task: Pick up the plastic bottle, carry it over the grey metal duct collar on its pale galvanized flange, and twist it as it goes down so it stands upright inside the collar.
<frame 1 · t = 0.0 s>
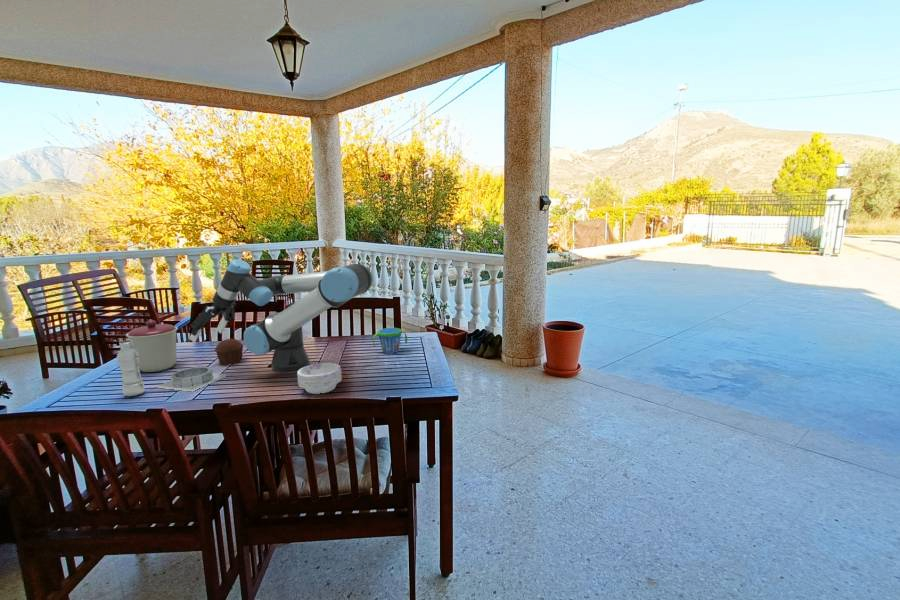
hand: (206, 335, 180), 15 cm above the table, tool tilted 35°, fingers open, 13 cm apart
canister: (158, 368, 188), on the table
muffin: (230, 362, 195), on the table
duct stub: (193, 382, 171), on the table
paper bowls: (320, 389, 161), on the table
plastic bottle: (134, 395, 160), on the table
snack cup: (390, 352, 203), on the table
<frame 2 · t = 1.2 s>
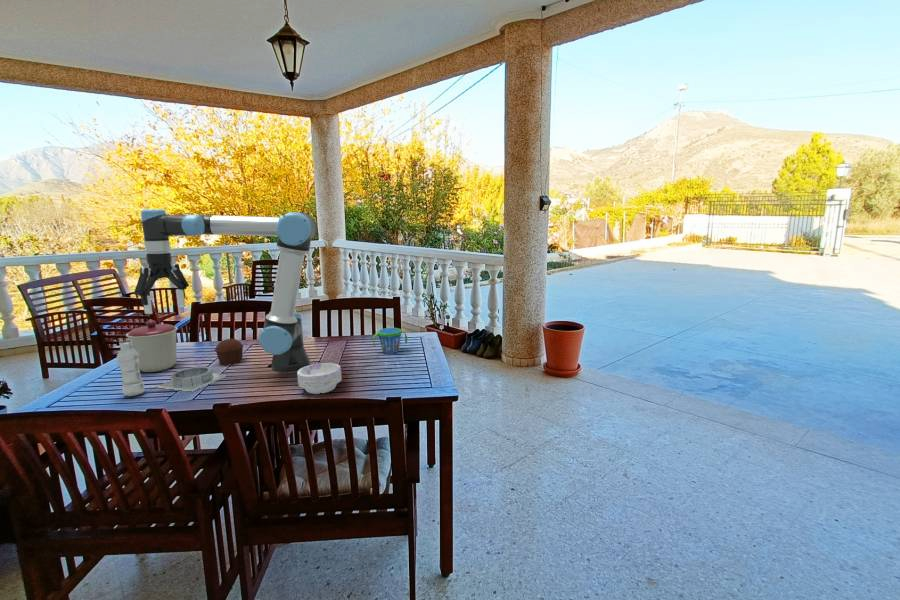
hand: (165, 309, 164), 29 cm above the table, tool pointing down, fingers open, 13 cm apart
nothing on the table moved.
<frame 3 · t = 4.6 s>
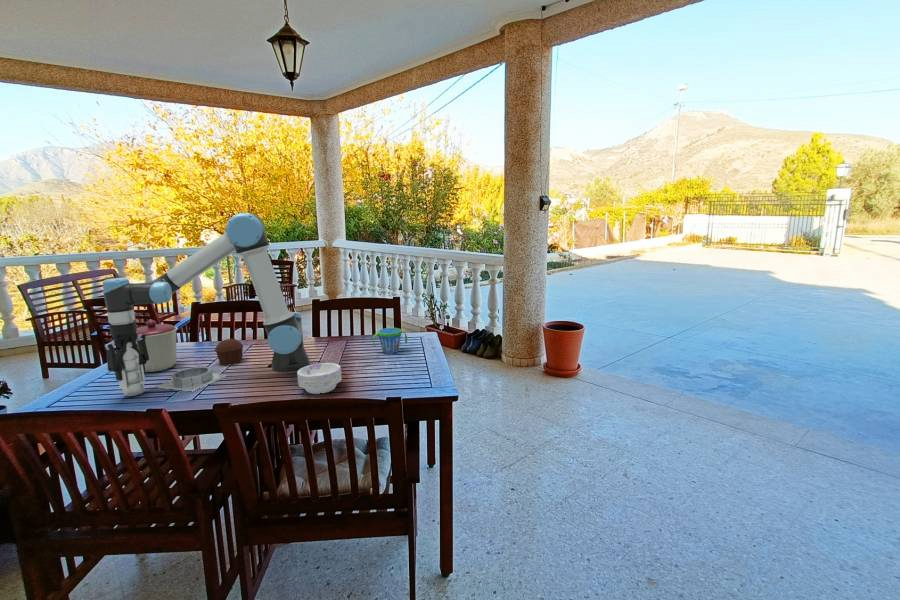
hand: (132, 384, 159), 4 cm above the table, tool pointing down, fingers closed on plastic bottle, 6 cm apart
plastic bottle: (134, 395, 160), on the table, touching gripper
everything else where it was.
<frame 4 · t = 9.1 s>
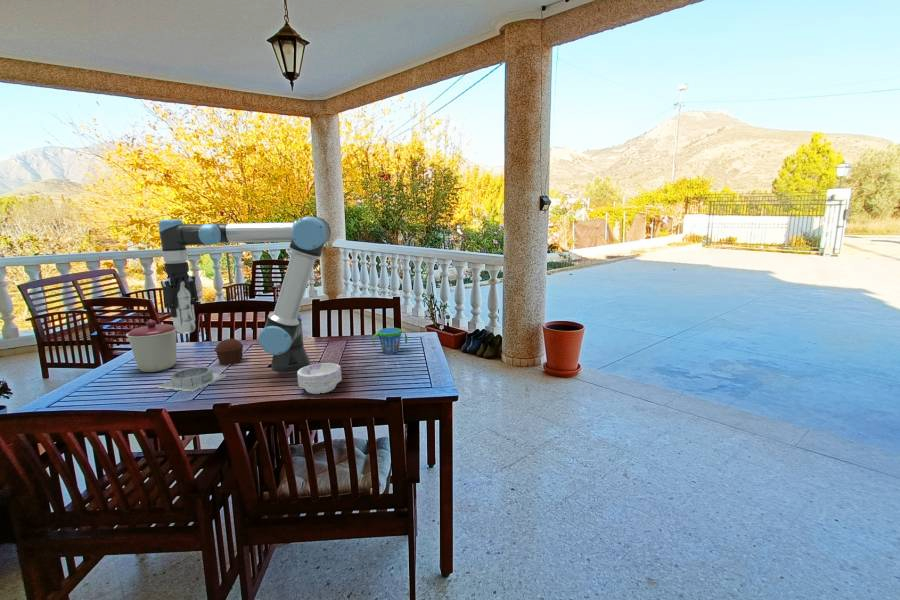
hand: (184, 323, 166), 24 cm above the table, tool pointing down, fingers closed on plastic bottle, 6 cm apart
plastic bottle: (186, 333, 167), point 19 cm above the table, touching gripper
everything else where it was.
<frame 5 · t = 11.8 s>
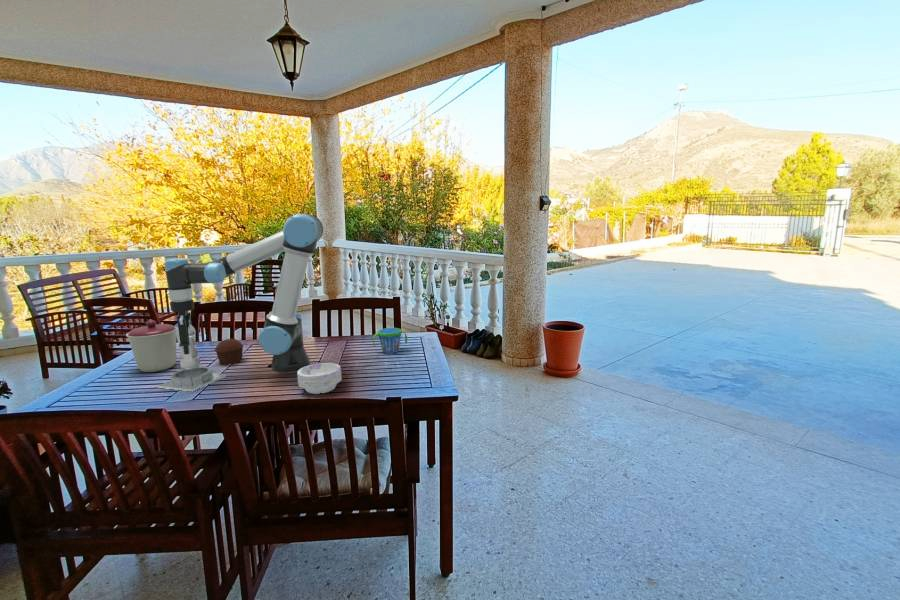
hand: (189, 359, 169), 9 cm above the table, tool pointing down, fingers closed on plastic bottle, 6 cm apart
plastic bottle: (191, 369, 170), point 5 cm above the table, touching gripper
everything else where it was.
when the fingers open (6 cm above the table, at t = 13.9 s): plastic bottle drops 1 cm, resting on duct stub.
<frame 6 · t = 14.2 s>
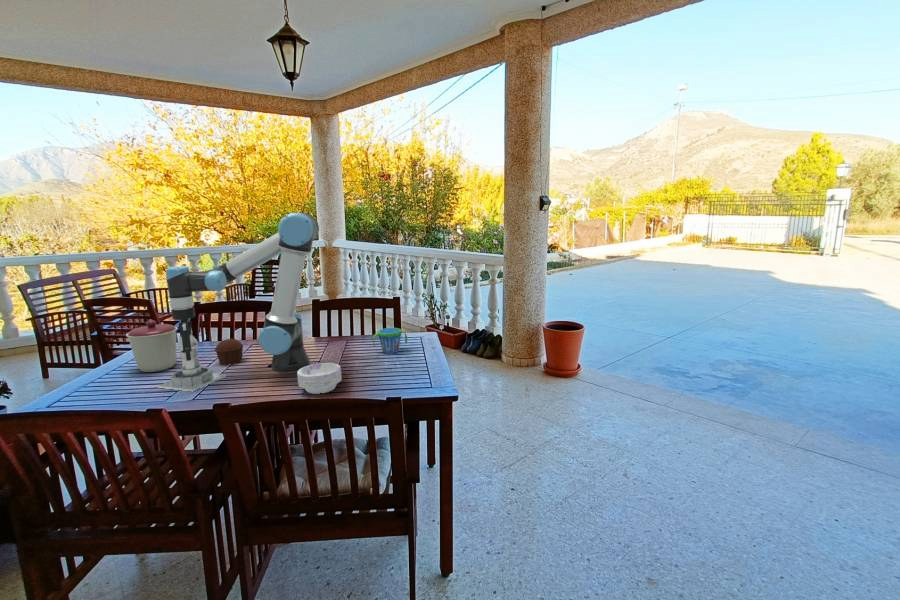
hand: (190, 364, 169), 7 cm above the table, tool pointing down, fingers open, 10 cm apart
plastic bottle: (193, 380, 171), point 1 cm above the table, touching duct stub
everything else where it was.
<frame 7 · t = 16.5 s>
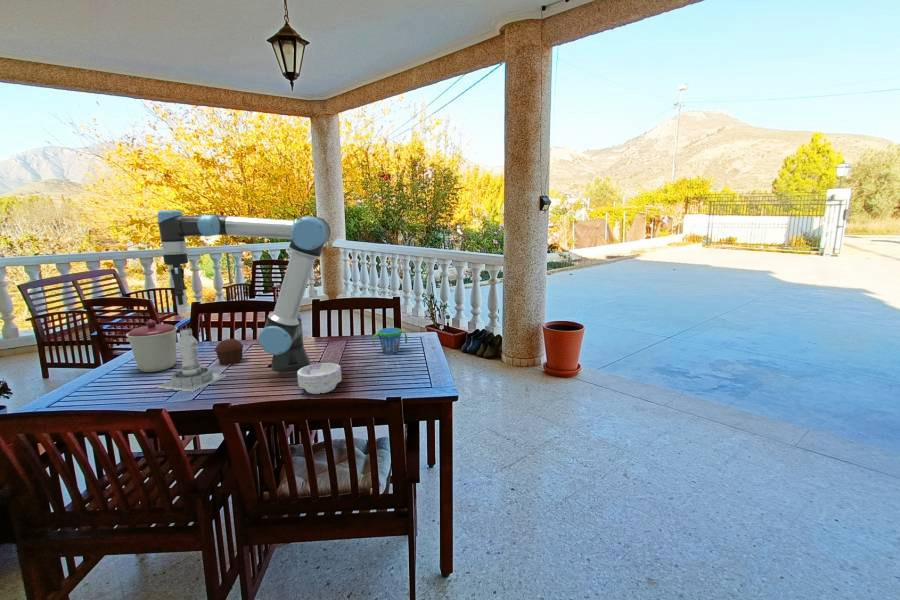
hand: (183, 310, 165), 29 cm above the table, tool pointing down, fingers open, 13 cm apart
nothing on the table moved.
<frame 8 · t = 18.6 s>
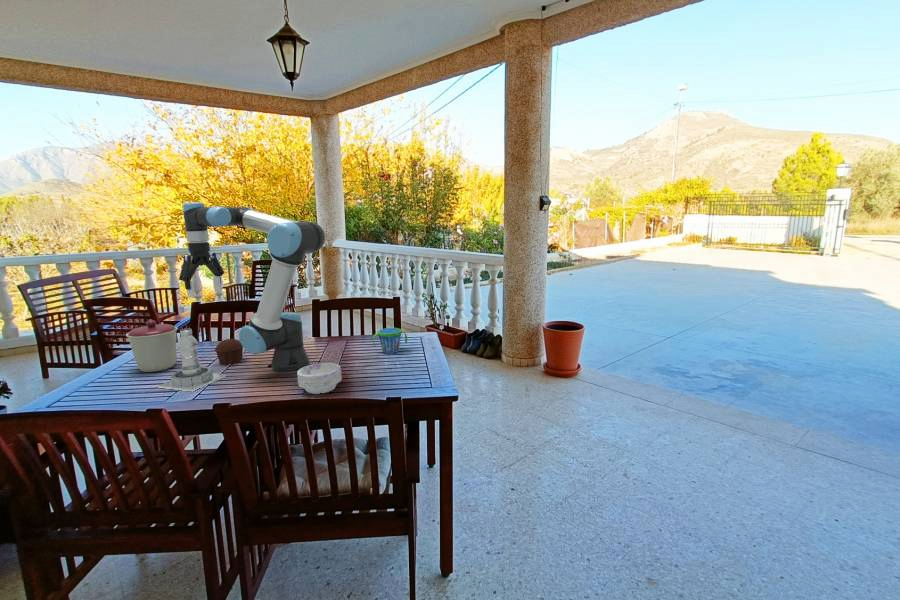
hand: (205, 294, 180), 32 cm above the table, tool pointing down, fingers open, 13 cm apart
nothing on the table moved.
at the end: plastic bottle 0.1 cm from the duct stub (horizontally); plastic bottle tilted 0°; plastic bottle point 0.8 cm above the table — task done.
